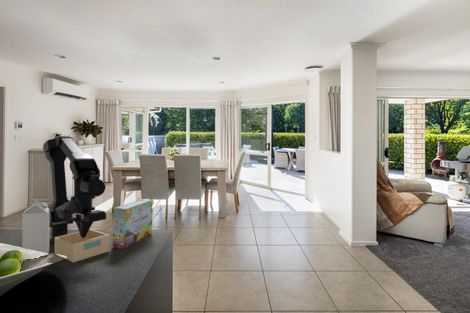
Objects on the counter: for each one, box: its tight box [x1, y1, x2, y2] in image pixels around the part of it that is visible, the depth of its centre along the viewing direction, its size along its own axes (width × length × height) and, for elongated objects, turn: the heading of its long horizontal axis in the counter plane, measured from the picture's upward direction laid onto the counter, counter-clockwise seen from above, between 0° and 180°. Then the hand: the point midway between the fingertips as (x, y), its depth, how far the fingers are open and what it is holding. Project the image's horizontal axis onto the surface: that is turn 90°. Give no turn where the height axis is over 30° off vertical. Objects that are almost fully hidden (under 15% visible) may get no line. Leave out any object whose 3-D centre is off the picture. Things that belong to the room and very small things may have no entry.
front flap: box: [71, 234, 111, 263], centre depth 103 cm, size 1×13×6 cm, turn 147°
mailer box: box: [54, 228, 108, 263], centre depth 106 cm, size 11×13×6 cm
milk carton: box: [21, 197, 50, 254], centre depth 104 cm, size 7×7×19 cm
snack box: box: [111, 198, 153, 250], centre depth 122 cm, size 21×6×15 cm, turn 168°
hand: (83, 237), depth 106 cm, fingers closed
